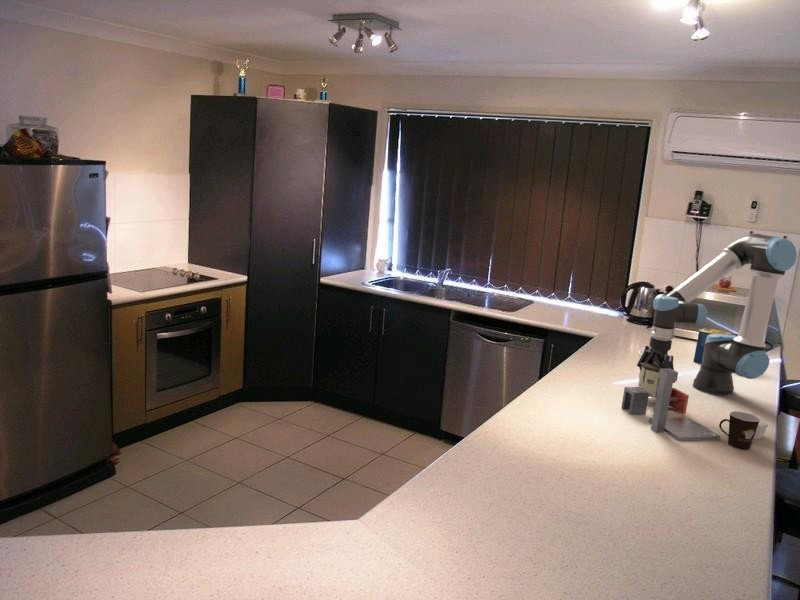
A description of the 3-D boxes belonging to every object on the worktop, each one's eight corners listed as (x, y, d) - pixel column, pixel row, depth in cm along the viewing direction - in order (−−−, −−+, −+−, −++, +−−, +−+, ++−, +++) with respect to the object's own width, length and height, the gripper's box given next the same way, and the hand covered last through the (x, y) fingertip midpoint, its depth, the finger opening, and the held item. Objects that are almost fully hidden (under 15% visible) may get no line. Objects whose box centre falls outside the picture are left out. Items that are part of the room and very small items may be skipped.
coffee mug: (751, 443, 216) (757, 414, 214) (756, 453, 208) (762, 423, 206) (712, 436, 220) (718, 407, 218) (715, 445, 212) (721, 416, 210)
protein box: (697, 358, 320) (703, 327, 317) (732, 365, 311) (738, 334, 308) (692, 362, 312) (698, 330, 309) (728, 370, 303) (734, 337, 300)
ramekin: (764, 432, 227) (767, 418, 226) (766, 443, 217) (769, 428, 216) (728, 425, 232) (730, 410, 231) (728, 435, 222) (731, 420, 221)
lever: (671, 405, 245) (674, 387, 244) (685, 413, 238) (688, 395, 236) (626, 406, 240) (628, 387, 239) (638, 414, 233) (641, 395, 231)
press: (666, 408, 244) (676, 353, 239) (720, 439, 217) (731, 378, 213) (620, 408, 239) (628, 352, 235) (668, 440, 212) (679, 378, 208)
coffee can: (662, 399, 254) (668, 363, 251) (667, 408, 244) (674, 371, 241) (634, 395, 256) (640, 360, 253) (638, 403, 246) (644, 367, 243)
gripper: (633, 329, 256) (624, 381, 260) (673, 347, 232) (663, 404, 236) (650, 329, 258) (641, 381, 262) (692, 347, 234) (681, 404, 238)
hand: (651, 392), depth 249 cm, fingers open, 13 cm apart
